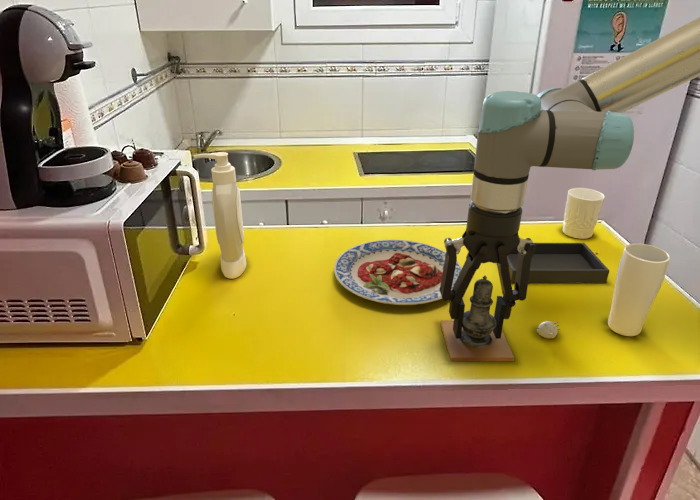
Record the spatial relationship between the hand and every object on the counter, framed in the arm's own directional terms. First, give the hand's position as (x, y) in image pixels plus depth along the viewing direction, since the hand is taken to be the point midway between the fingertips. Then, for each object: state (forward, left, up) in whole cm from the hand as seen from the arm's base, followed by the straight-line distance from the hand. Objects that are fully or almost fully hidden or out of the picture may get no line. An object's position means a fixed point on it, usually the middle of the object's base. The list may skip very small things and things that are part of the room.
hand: (476, 333), depth 86 cm
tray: (-21, -25, -2) cm, 33 cm away
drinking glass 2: (-27, -4, -2) cm, 27 cm away
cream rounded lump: (-13, -2, -2) cm, 13 cm away
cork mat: (0, 0, -2) cm, 2 cm away
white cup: (-34, -42, -2) cm, 54 cm away
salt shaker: (0, 0, -1) cm, 1 cm away
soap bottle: (+46, -25, -2) cm, 52 cm away
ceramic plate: (+11, -21, -2) cm, 24 cm away
